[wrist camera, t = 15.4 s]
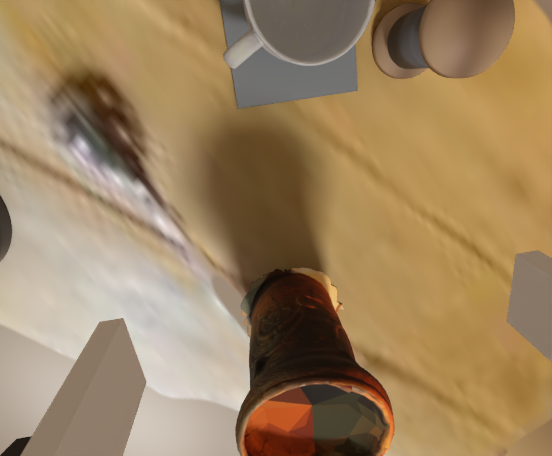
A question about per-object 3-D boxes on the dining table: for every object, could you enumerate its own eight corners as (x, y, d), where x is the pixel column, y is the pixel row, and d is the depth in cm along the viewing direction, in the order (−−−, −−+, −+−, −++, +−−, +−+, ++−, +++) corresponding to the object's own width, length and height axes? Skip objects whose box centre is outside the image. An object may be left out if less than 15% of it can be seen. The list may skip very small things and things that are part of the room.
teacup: (325, -83, 33) (349, -130, 26) (366, 37, 37) (397, 27, 30) (192, -7, 34) (179, -30, 27) (246, 101, 39) (247, 106, 31)
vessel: (316, 363, 54) (350, 509, 35) (225, 334, 51) (211, 476, 32) (362, 284, 49) (429, 404, 31) (266, 248, 47) (276, 356, 28)
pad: (238, 108, 40) (238, 108, 39) (207, -73, 33) (206, -77, 33) (355, 90, 40) (357, 90, 39) (346, -92, 34) (348, -96, 33)
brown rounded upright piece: (373, 83, 40) (423, 84, 29) (370, 9, 37) (425, -21, 26) (435, 73, 40) (509, 71, 29) (437, 0, 37) (520, -34, 26)
